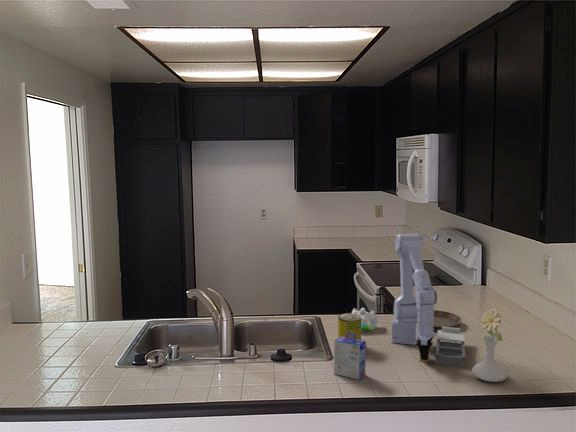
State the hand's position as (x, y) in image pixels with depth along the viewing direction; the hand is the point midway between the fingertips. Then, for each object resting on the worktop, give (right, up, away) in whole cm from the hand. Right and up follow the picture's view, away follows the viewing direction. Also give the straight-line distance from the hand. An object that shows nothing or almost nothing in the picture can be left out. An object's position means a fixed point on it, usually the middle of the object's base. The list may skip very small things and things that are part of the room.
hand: (424, 356), depth 189 cm
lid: (+14, +4, +13) cm, 20 cm away
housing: (+11, -1, +4) cm, 11 cm away
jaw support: (-18, +3, +35) cm, 39 cm away
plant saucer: (+16, +3, +39) cm, 42 cm away
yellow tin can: (-26, 0, +15) cm, 30 cm away
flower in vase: (+18, -3, -15) cm, 24 cm away
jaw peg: (0, -1, 0) cm, 1 cm away
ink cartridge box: (-29, -3, -10) cm, 31 cm away
